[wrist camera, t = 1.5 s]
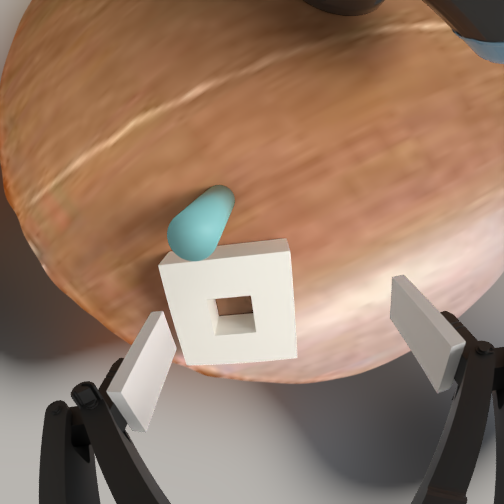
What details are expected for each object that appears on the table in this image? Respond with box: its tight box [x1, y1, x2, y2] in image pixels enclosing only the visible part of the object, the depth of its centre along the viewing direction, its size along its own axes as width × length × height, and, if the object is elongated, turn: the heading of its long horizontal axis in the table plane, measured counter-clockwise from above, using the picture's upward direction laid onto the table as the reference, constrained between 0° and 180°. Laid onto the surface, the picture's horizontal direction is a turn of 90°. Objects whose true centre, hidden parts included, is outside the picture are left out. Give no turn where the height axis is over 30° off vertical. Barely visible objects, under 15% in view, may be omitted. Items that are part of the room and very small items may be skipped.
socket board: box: [158, 238, 297, 365], centre depth 39 cm, size 16×16×5 cm
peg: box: [167, 185, 235, 261], centre depth 30 cm, size 4×4×16 cm
